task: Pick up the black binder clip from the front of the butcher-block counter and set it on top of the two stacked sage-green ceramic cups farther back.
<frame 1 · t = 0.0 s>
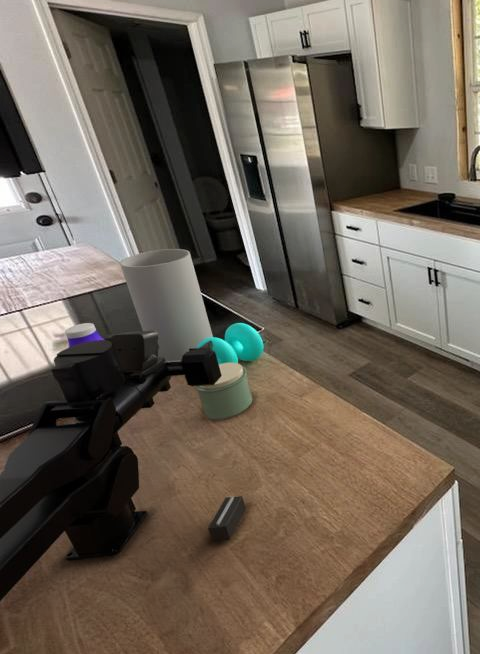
hand: (184, 344, 76), 17 cm above the worktop, tool horizontal, fingers open, 9 cm apart
clip: (229, 523, 61), on the worktop
bottle: (109, 401, 86), on the worktop
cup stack: (229, 405, 85), on the worktop
cyan spool: (236, 368, 98), on the worktop
cylinder vase: (185, 351, 104), on the worktop
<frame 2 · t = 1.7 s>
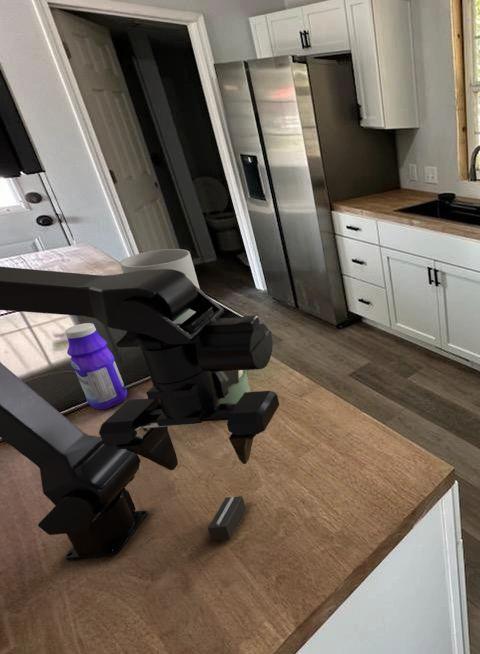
hand: (210, 464, 57), 12 cm above the worktop, tool pointing down, fingers open, 9 cm apart
nothing on the worktop moved.
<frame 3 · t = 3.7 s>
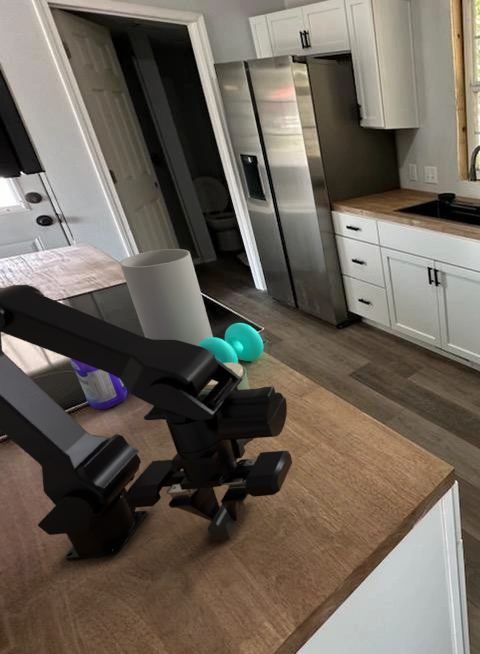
hand: (228, 518, 61), 1 cm above the worktop, tool pointing down, fingers closed on clip, 2 cm apart
clip: (229, 523, 61), on the worktop, touching gripper
everything else where it was.
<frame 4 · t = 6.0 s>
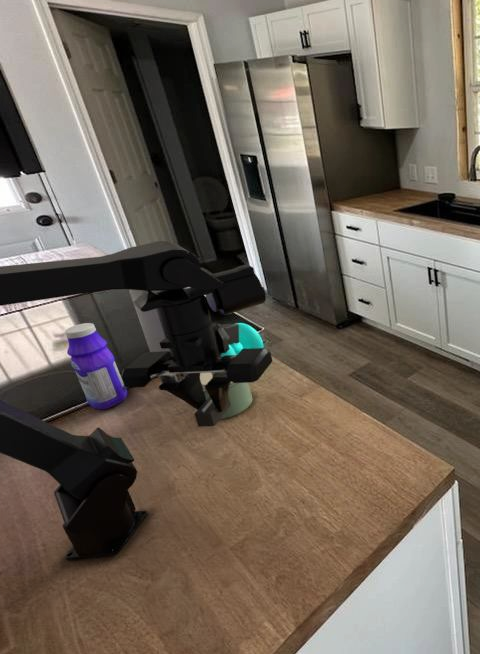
hand: (213, 410, 67), 12 cm above the worktop, tool pointing down, fingers closed on clip, 2 cm apart
clip: (215, 415, 67), point 11 cm above the worktop, touching gripper
everything else where it was.
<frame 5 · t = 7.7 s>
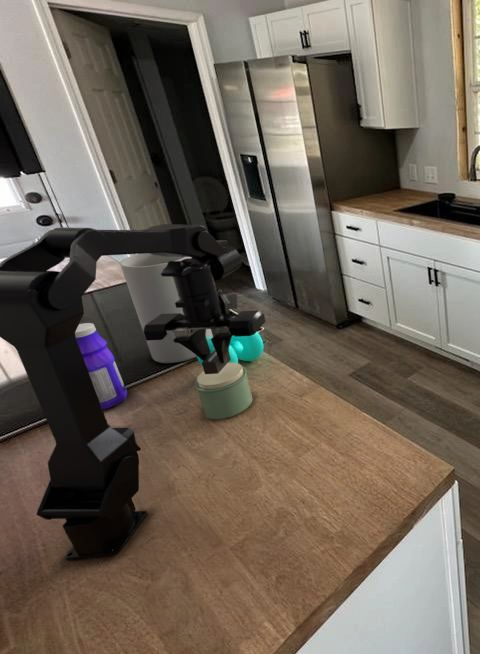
hand: (217, 362, 81), 11 cm above the worktop, tool pointing down, fingers closed on clip, 2 cm apart
clip: (218, 366, 82), point 10 cm above the worktop, touching gripper
everything else where it was.
when the fingers open (9 cm above the worktop, at t = 8.4 s): clip stays where it is, resting on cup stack.
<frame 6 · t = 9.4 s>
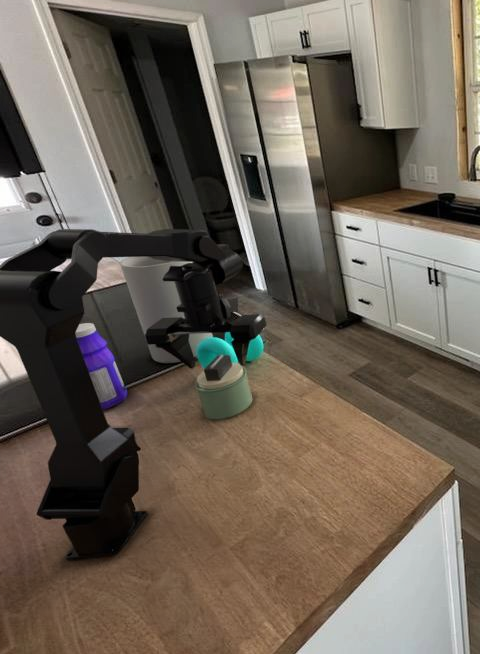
hand: (218, 366, 82), 10 cm above the worktop, tool pointing down, fingers open, 9 cm apart
clip: (220, 373, 82), point 8 cm above the worktop, touching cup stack
everything else where it was.
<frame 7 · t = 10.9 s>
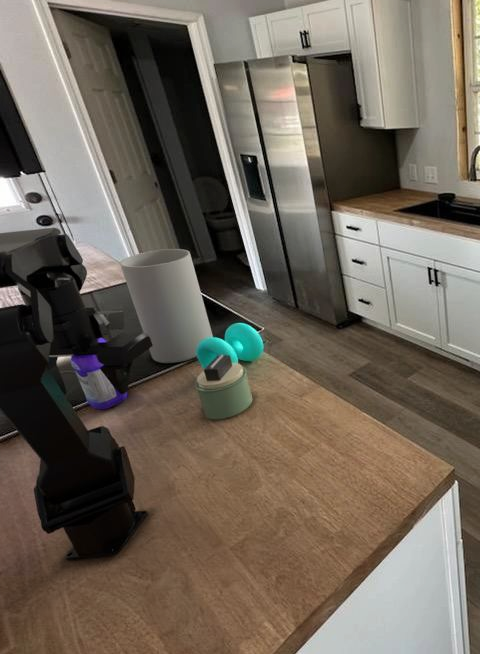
hand: (93, 394, 68), 13 cm above the worktop, tool pointing down, fingers open, 9 cm apart
nothing on the worktop moved.
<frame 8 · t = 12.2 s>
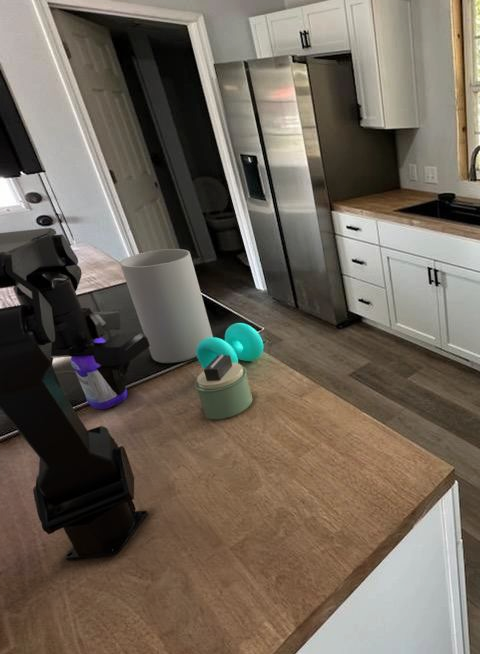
hand: (90, 395, 68), 13 cm above the worktop, tool pointing down, fingers open, 9 cm apart
nothing on the worktop moved.
at the end: clip 0.0 cm off-centre on the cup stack, point 8.0 cm above the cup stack's base; the gripper is holding nothing; clip tilted 0° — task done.
